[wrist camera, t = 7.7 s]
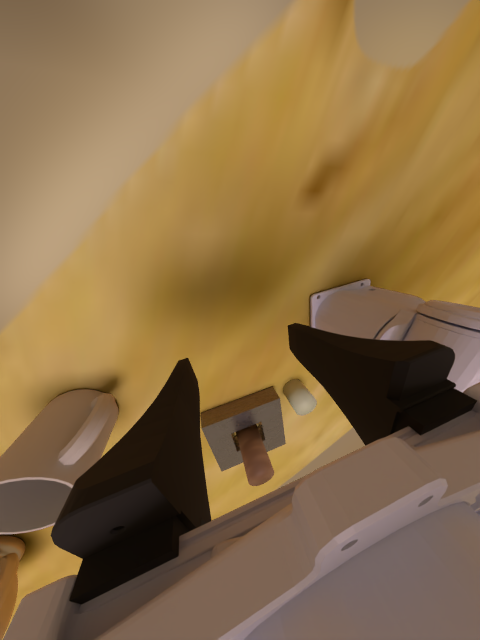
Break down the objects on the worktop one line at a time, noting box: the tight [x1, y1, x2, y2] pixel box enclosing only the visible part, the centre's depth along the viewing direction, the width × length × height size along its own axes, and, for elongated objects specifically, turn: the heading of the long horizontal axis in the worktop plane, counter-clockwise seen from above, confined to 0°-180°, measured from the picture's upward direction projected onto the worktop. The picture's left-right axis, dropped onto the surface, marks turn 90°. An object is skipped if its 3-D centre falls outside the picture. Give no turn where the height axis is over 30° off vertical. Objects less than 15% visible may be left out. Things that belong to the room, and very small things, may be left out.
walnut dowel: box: [236, 424, 274, 486], centre depth 26 cm, size 4×4×8 cm
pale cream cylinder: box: [283, 379, 317, 415], centre depth 28 cm, size 4×4×4 cm
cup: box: [0, 389, 118, 534], centre depth 17 cm, size 7×10×9 cm
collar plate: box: [201, 386, 286, 471], centre depth 29 cm, size 12×12×2 cm
